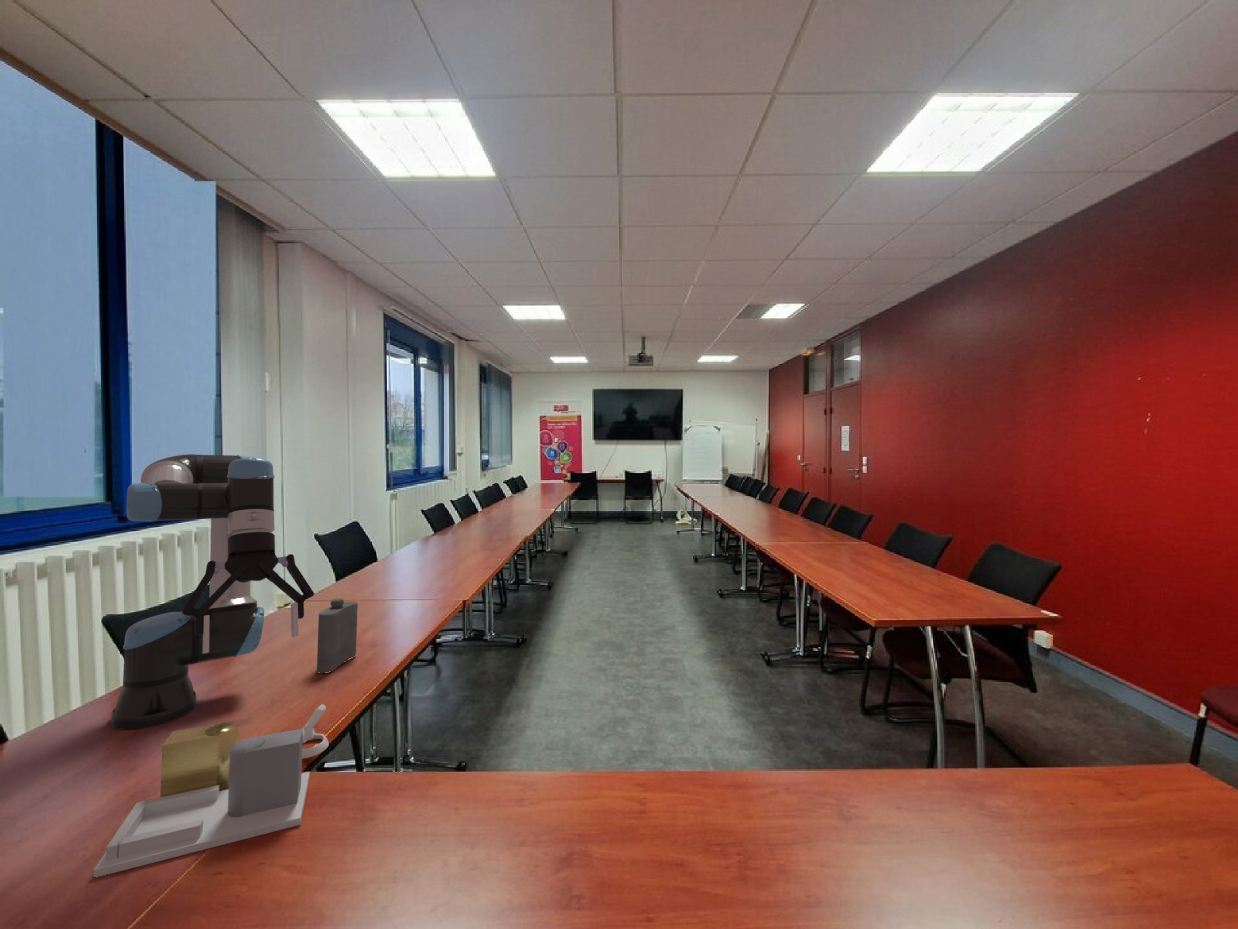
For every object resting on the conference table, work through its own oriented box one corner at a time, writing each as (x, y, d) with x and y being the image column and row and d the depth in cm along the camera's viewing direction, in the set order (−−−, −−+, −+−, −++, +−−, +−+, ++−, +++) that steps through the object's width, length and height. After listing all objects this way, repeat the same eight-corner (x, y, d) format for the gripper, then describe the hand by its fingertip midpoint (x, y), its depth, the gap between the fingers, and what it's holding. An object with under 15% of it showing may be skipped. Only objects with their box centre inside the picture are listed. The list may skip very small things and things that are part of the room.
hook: (337, 736, 102) (307, 720, 101) (306, 776, 104) (276, 761, 102) (353, 711, 110) (325, 696, 108) (324, 749, 111) (296, 734, 110)
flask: (341, 654, 158) (343, 593, 158) (359, 655, 158) (361, 593, 158) (309, 673, 143) (312, 606, 143) (328, 674, 143) (331, 606, 143)
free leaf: (160, 806, 88) (162, 745, 88) (170, 789, 92) (172, 731, 92) (232, 790, 92) (234, 732, 92) (239, 775, 97) (241, 720, 97)
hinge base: (93, 878, 72) (96, 796, 73) (134, 816, 85) (136, 746, 85) (300, 824, 84) (302, 754, 84) (309, 777, 97) (311, 716, 97)
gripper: (167, 535, 86) (162, 660, 81) (327, 526, 103) (331, 629, 98) (166, 543, 92) (162, 661, 86) (319, 533, 109) (323, 632, 103)
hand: (252, 644), depth 92 cm, fingers open, 13 cm apart
